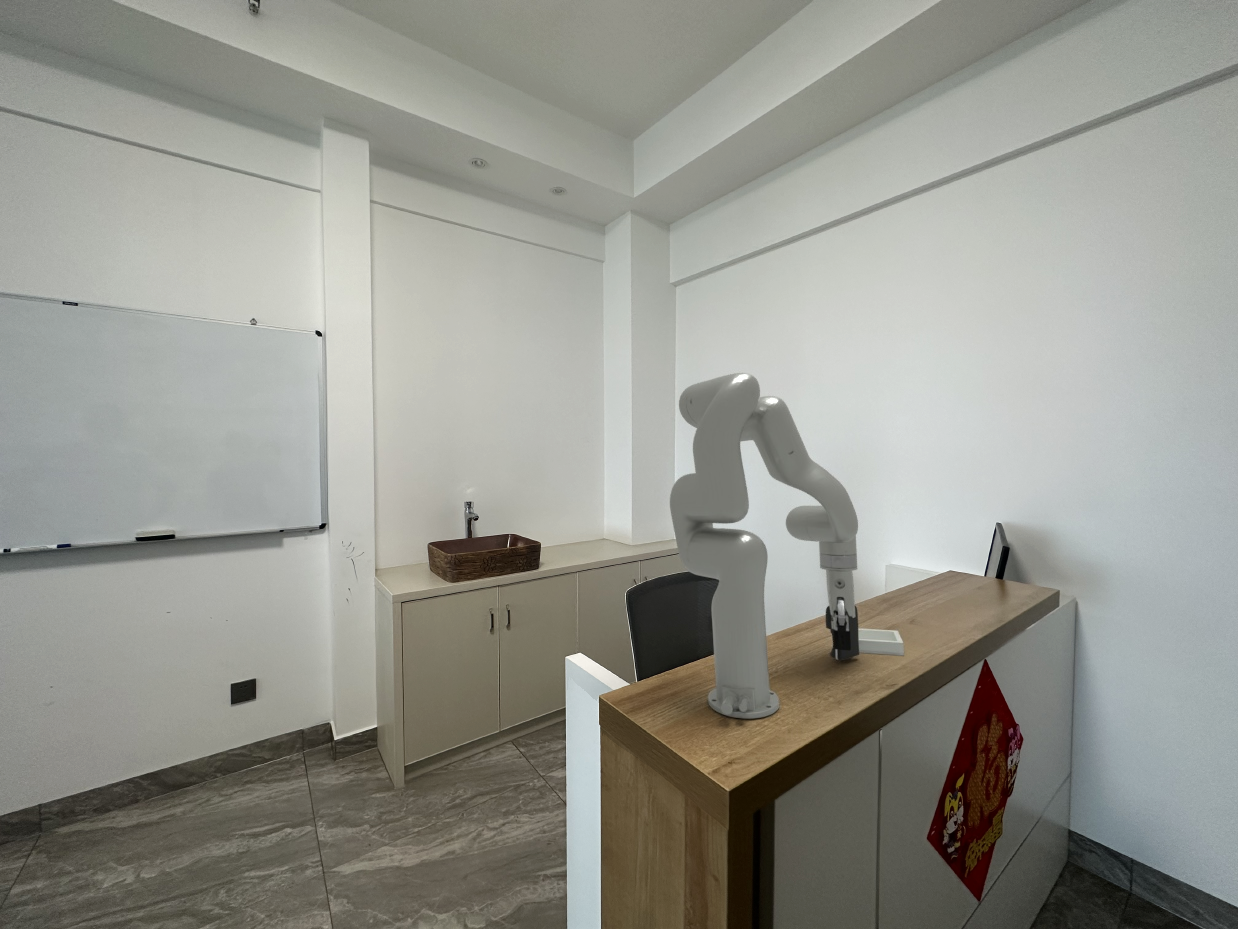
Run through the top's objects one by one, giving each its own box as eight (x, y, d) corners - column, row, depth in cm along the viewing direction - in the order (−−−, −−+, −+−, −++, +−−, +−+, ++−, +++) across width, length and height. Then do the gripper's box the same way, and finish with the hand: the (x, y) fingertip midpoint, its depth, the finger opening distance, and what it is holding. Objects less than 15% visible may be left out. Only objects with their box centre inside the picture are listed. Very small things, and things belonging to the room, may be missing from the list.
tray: (904, 655, 112) (903, 642, 112) (844, 651, 116) (843, 639, 116) (898, 642, 120) (897, 630, 120) (843, 639, 124) (842, 627, 125)
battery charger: (845, 651, 114) (843, 599, 115) (860, 655, 111) (858, 602, 111) (824, 657, 111) (822, 603, 111) (839, 662, 107) (837, 607, 108)
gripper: (859, 568, 102) (863, 658, 101) (854, 556, 118) (858, 634, 117) (819, 567, 105) (823, 655, 104) (820, 555, 121) (823, 631, 120)
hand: (841, 643), depth 111 cm, fingers closed on battery charger, 7 cm apart
